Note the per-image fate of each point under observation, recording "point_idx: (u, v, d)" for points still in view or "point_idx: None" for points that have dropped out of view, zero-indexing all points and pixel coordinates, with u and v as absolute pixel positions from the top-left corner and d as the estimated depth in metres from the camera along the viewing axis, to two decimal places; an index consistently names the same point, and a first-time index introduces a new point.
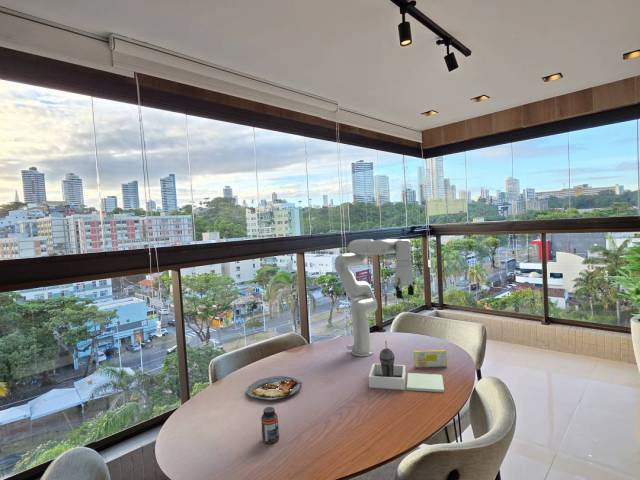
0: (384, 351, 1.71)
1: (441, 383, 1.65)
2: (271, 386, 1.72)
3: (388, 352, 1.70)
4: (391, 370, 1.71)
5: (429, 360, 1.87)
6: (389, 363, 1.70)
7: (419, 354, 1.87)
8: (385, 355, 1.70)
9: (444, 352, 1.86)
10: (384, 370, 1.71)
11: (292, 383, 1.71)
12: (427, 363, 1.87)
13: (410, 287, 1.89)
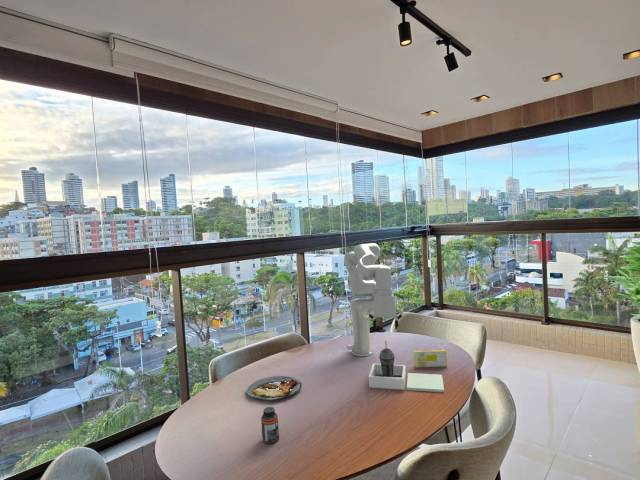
0: (384, 351, 1.71)
1: (441, 383, 1.65)
2: (271, 386, 1.72)
3: (388, 352, 1.70)
4: (391, 370, 1.71)
5: (429, 360, 1.87)
6: (389, 363, 1.70)
7: (419, 354, 1.87)
8: (385, 355, 1.70)
9: (444, 352, 1.86)
10: (384, 370, 1.71)
11: (292, 383, 1.71)
12: (427, 363, 1.87)
13: (375, 319, 1.73)
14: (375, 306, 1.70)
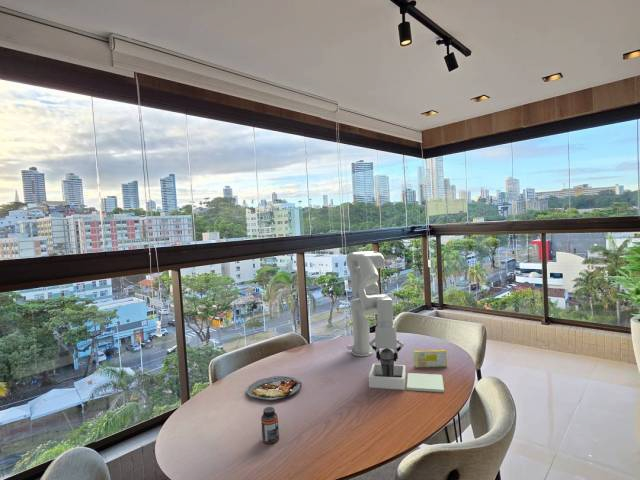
0: (384, 351, 1.71)
1: (441, 383, 1.65)
2: (271, 386, 1.72)
3: (388, 352, 1.70)
4: (391, 370, 1.71)
5: (429, 360, 1.87)
6: (389, 363, 1.70)
7: (419, 354, 1.87)
8: (385, 355, 1.70)
9: (444, 352, 1.86)
10: (384, 370, 1.71)
11: (292, 383, 1.71)
12: (427, 363, 1.87)
13: (379, 351, 1.74)
14: (376, 337, 1.71)
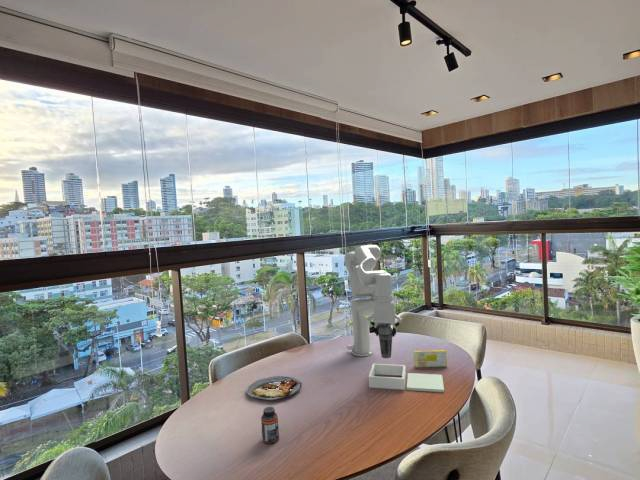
0: (383, 326, 1.71)
1: (441, 383, 1.65)
2: (271, 386, 1.72)
3: (387, 327, 1.70)
4: (389, 345, 1.71)
5: (429, 360, 1.87)
6: (387, 338, 1.70)
7: (419, 354, 1.87)
8: (384, 330, 1.70)
9: (444, 352, 1.86)
10: (382, 345, 1.71)
11: (292, 383, 1.71)
12: (427, 363, 1.87)
13: (377, 327, 1.74)
14: (375, 312, 1.71)
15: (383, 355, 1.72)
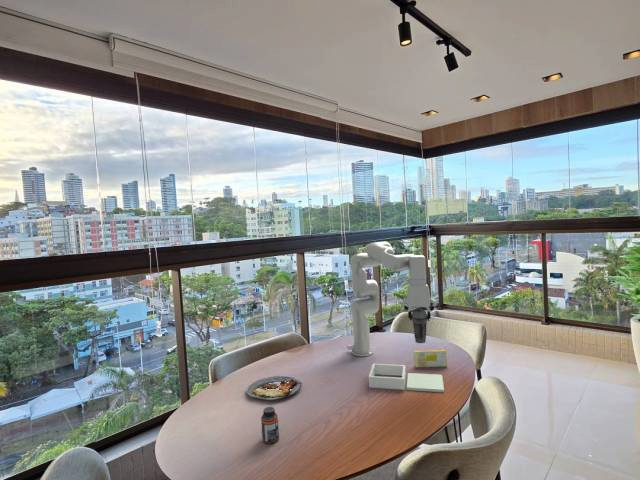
0: (417, 310, 1.66)
1: (441, 383, 1.65)
2: (271, 386, 1.72)
3: (421, 311, 1.65)
4: (424, 330, 1.66)
5: (429, 360, 1.87)
6: (422, 322, 1.65)
7: (419, 354, 1.87)
8: (418, 314, 1.65)
9: (444, 352, 1.86)
10: (417, 330, 1.66)
11: (292, 383, 1.71)
12: (427, 363, 1.87)
13: None
14: (409, 296, 1.66)
15: (417, 340, 1.66)
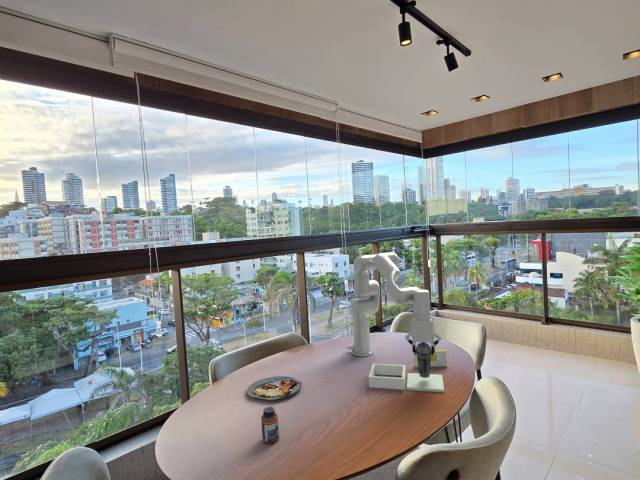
0: (421, 345, 1.66)
1: (441, 383, 1.65)
2: (271, 386, 1.72)
3: (425, 346, 1.66)
4: (428, 364, 1.66)
5: None
6: (426, 357, 1.65)
7: None
8: (422, 349, 1.65)
9: (444, 352, 1.86)
10: (421, 364, 1.66)
11: (292, 383, 1.71)
12: None
13: (415, 345, 1.69)
14: (413, 330, 1.66)
15: (422, 374, 1.67)
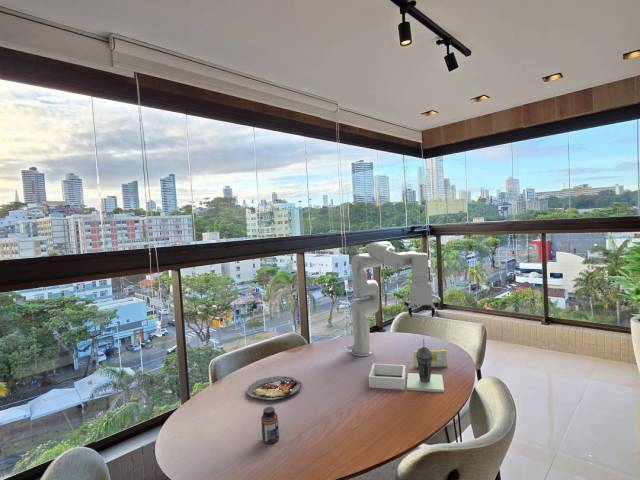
0: (422, 350, 1.66)
1: (441, 383, 1.65)
2: (271, 386, 1.72)
3: (426, 351, 1.66)
4: (429, 369, 1.66)
5: None
6: (427, 362, 1.65)
7: None
8: (423, 354, 1.65)
9: (444, 352, 1.86)
10: (421, 369, 1.66)
11: (292, 383, 1.71)
12: None
13: (411, 307, 1.69)
14: (411, 293, 1.66)
15: (422, 379, 1.67)
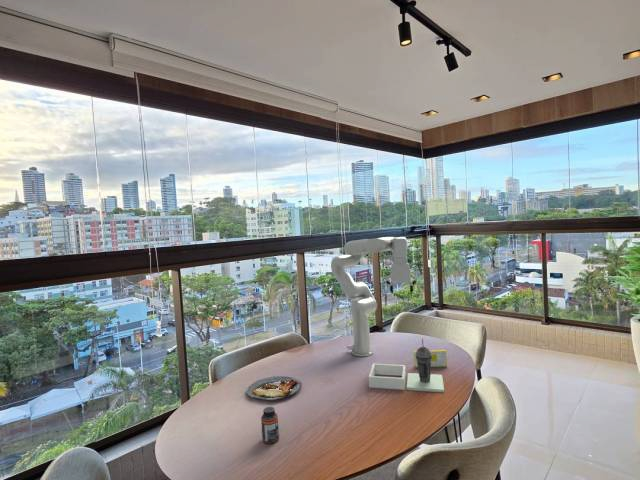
0: (421, 349, 1.67)
1: (441, 383, 1.65)
2: (271, 386, 1.72)
3: (425, 351, 1.66)
4: (428, 369, 1.66)
5: None
6: (426, 362, 1.65)
7: None
8: (422, 354, 1.65)
9: (444, 352, 1.86)
10: (421, 369, 1.66)
11: (292, 383, 1.71)
12: None
13: (392, 285, 1.91)
14: (392, 273, 1.88)
15: (422, 379, 1.67)
